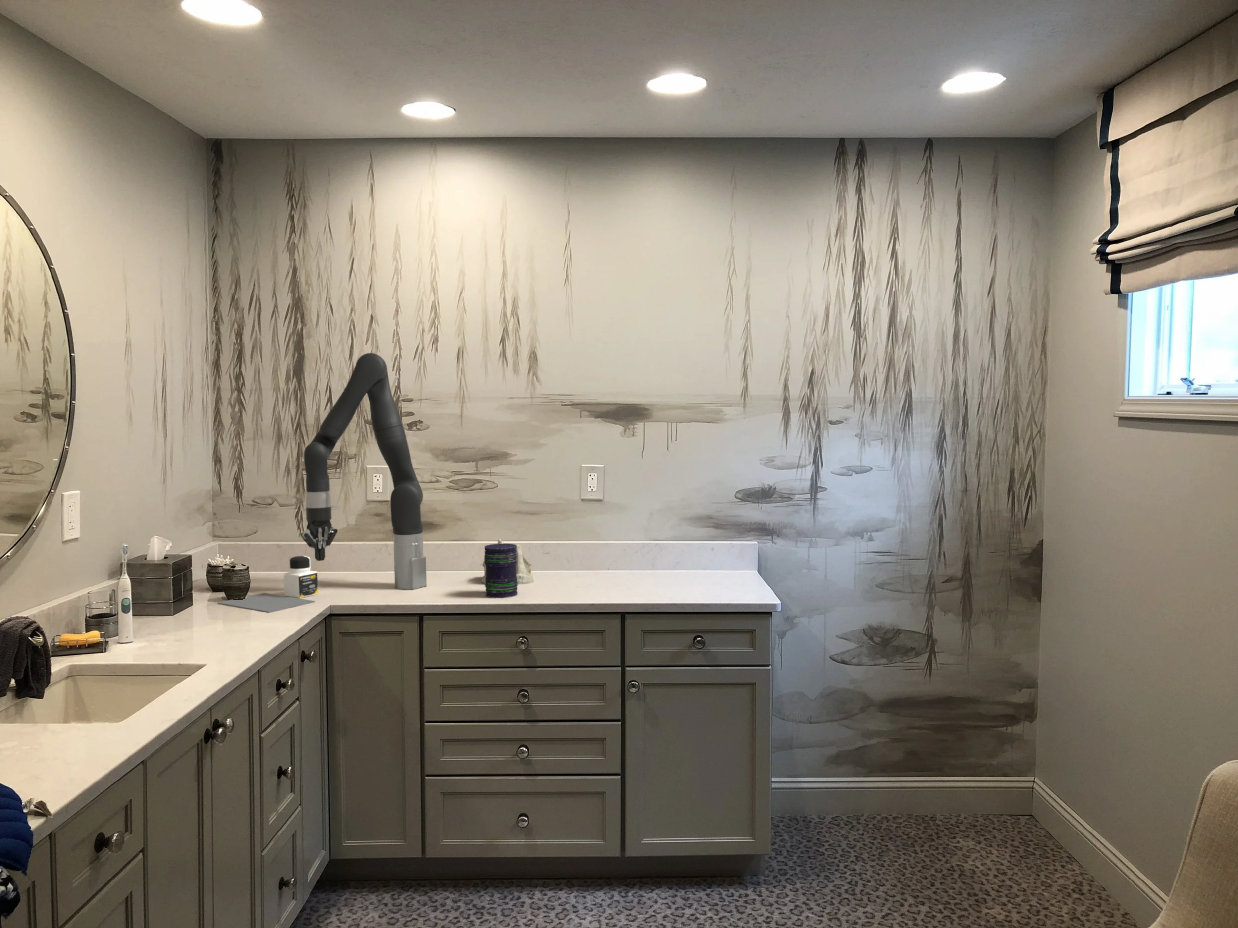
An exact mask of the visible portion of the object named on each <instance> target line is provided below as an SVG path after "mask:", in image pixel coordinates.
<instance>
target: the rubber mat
mask: <svg viewBox="0 0 1238 928" xmlns="http://www.w3.org/2000/svg"><path fill="white" fill-rule="evenodd" d="M246 597H247V596H246ZM313 603H316V600H311V599H304V598H294V597H288V596H285V595H279V594H275V593H274V594H273V593H269V592H268V593H267V592H263V593H258V594H252V595H248V597H247V598H246V599H243V600H233V599H229V600H225V601H224V600H223V601H219V602H217V604H218V605H223V606H228V607H235V608H241V609H246V610H251V611H252V610H253V611H258V612H261V613H262V612H263V613H268V614H269V613H274V612H278V611H282V610H287V609H291V608H295V607H299V606H303V605H305V606H306V605H308V604H313Z"/></svg>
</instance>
